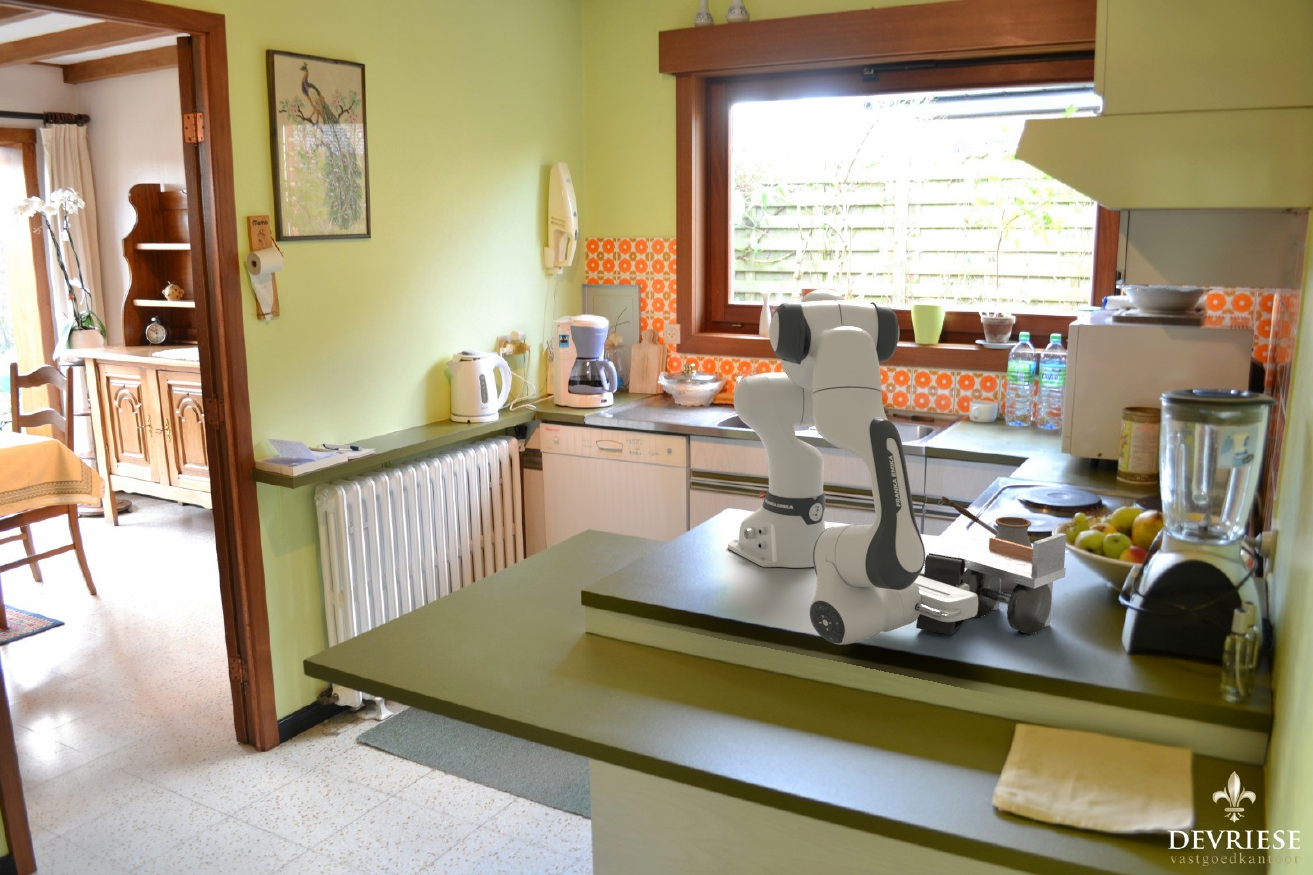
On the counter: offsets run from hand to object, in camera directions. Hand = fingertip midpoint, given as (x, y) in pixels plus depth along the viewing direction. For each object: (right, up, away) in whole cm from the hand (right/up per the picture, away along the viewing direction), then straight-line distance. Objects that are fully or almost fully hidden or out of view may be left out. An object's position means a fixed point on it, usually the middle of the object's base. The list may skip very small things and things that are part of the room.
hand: (947, 582), depth 173 cm
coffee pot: (+14, -3, +25) cm, 29 cm away
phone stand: (-1, -8, +1) cm, 8 cm away
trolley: (+12, -7, +4) cm, 14 cm away
